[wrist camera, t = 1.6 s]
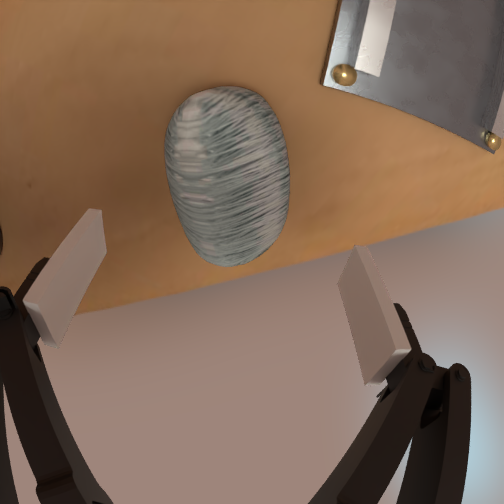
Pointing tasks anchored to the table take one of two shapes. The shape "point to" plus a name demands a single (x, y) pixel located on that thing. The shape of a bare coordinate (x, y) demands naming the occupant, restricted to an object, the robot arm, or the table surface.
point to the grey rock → (228, 174)
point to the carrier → (425, 61)
